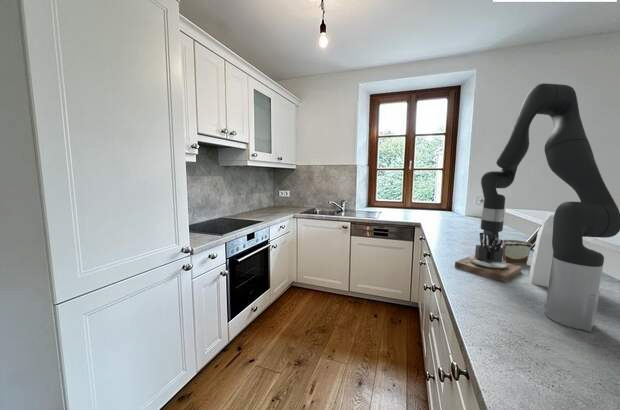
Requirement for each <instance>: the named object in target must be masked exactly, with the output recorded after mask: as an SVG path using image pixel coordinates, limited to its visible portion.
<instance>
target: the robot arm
mask: <svg viewBox="0 0 620 410" xmlns="http://www.w3.org/2000/svg"><path fill="white" fill-rule="evenodd" d="M537 115H545V116H546V115H547V116H549V117H550V118H551V120H552V123H553V131H552V132H551V133H550V135H549V137H548V138H547V140H546V142H545V145H544V153H545V154H544V155H545V157H546V161H547V164H548V167H549V168H550V170H551V171H552V172H553V173H554V175H556V176H557V177H558V178H560V179H561V180H562V181H563V182H564V183H566V184H567V185H568V186H569V187H571V188H572V190H574V192H575V193H576V194H577V197H578V198H579V201H565V202H562V203H560V204H559V205H558V206H557V208H556V209H555V212H554V214H553V215H554V221H553V236H552V247H553V258H552V265H551V272H550V279H549V286H548V287H547V293H546V294H547V295H546V300H545V307H544V308H545V309H544V314H545V316H546V317H548V319H550V320H552V321H554V322H556V323H557V324H560V325H562V326H563V325H564V326H566V327H569V328H573V329H578V330H583V331H586V332H592V330H593V328H594V325H595V322H596V318H597V317H596V316H597V312H598V305H599V299H600V287H601V286H600V284H601V278H602V273H603V268H604V264H605V257H604V255H603V254H602V253H601V252H598V251H596V250H594V249H592V248H591V249H590V248H588V247H586V246H585V245H584V241H583V240H584V239H583V237H586V238H603V239H606V238H612V237H614V236H616V235H618V234H619V232H620V210H619V207H618V205H617V203H616V201H615V199H614V197H613V196H612V195H611V193H610V190H609V189H608V186H607V185H606V183H605V182H604V179H603V177H602V175H601V173H600V172H601V171H600V170H599V167H598V165H597V162H596V159H595V157H594V152H593V150H592V147H591V144H590V141H589V139H588V137H587V134H586V131H585V129H584V125H583V122H582V118H581V115H580V109H579V102H578V97H577V93H576V90H575V89H574V88H573V87H572V86H570V85H568V84H561V83H560V84H558V83H543V82H542V83H539V84H537V85H535V86H534V87H532V88H531V89H530V91H528V93H527V95H526V96H525V99H524V100H523V103H522V105H521V108H520V110H519V113H518V115H517V118H516V119H515V122H514V125H513V129H512V131H511V133H510V135H509V138H508V140H507V142H506V143H505V146H504V147H503V149H502V151H501V152H500V154H499V156H498V158H497V159H496V162H495V163H496V165H497V167H499V168H501V170H494V171H493V170H489V171H486V172H485V173H484V174H483V175H482V177H481V179H480V185H481V190H482V194H483V198H484V199H483V206H482V208H483V209H482V210H481V219H480V229H481V230H483V231H482V232H479V243H480V245H487V246H488V256H487V259H488V260H490V261H493V260H494V254H495V252H499V249H500V247H502V246H501V245H502V242H503V240H504V239H500V238H499V237H500V236H499V233H500V232H502V231H503V229H504V221H505V205H506V197H505V195H503V194H499V193H498V191H497V189H506V188H509V187H510V186H511V185H512V184H513V183H514V181H515V178H516V177H515V176H516V174H517V171H518V167H519V165H520V164H521V162H522V160H523V159H524V157H525V156H526V155H527V153H528V151H529V147H530V126H531V123H532V122H533V120H534V118H535V117H536V116H537ZM491 246H492V247H491Z"/></svg>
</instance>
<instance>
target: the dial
mask: <svg viewBox="0 0 620 410" xmlns="http://www.w3.org/2000/svg"><path fill="white" fill-rule="evenodd" d="M491 247H492V246H491ZM474 252H475V253H474V254H472V256H471V255H469V256H470V262H471V263H473V264H475V265H478V266H481V267H486V268H491V269H506V268H507V262H505V261H504V260H503V246H501V247H500V249H499V252H495V254H494V260H493V261H490V260H488V259H487V256H488V246H487V245H481V244H475V251H474Z"/></svg>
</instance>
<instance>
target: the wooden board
mask: <svg viewBox="0 0 620 410" xmlns="http://www.w3.org/2000/svg"><path fill="white" fill-rule="evenodd" d="M472 255H473V254H472ZM472 255H469V256H466V257H464V258H461V259H459V260H457V261H455V262H454V268H456V269H459V270H462V271H463V270H464V271H465V272H466V271H467V272H469V273H472V274H475V275H476V274H477V275H478V276H483V277H484V278H485V277H486V278H489V279H493V280H497V281H498V282H502V283H506V282H508V281H509V280H511V279H513V278H514V277H516V276H517V275H519V274H520V273H521V272H522V266H521V265H518V264H509V263H507V268H506V269H491V268H486V267H481V266H478V265H475V264H473V263H471V262H470V256H472Z"/></svg>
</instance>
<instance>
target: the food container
mask: <svg viewBox="0 0 620 410" xmlns="http://www.w3.org/2000/svg"><path fill="white" fill-rule="evenodd" d="M502 240H503V242H502V245H501V247H502V248H503V257H502V260H504V261H505V262H507V263H509V264H513V265H527V264H528V261H529V257H530V253H531V249H532V248H533V244H532V243H531V242H528V241H524V240H516V239H502Z"/></svg>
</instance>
